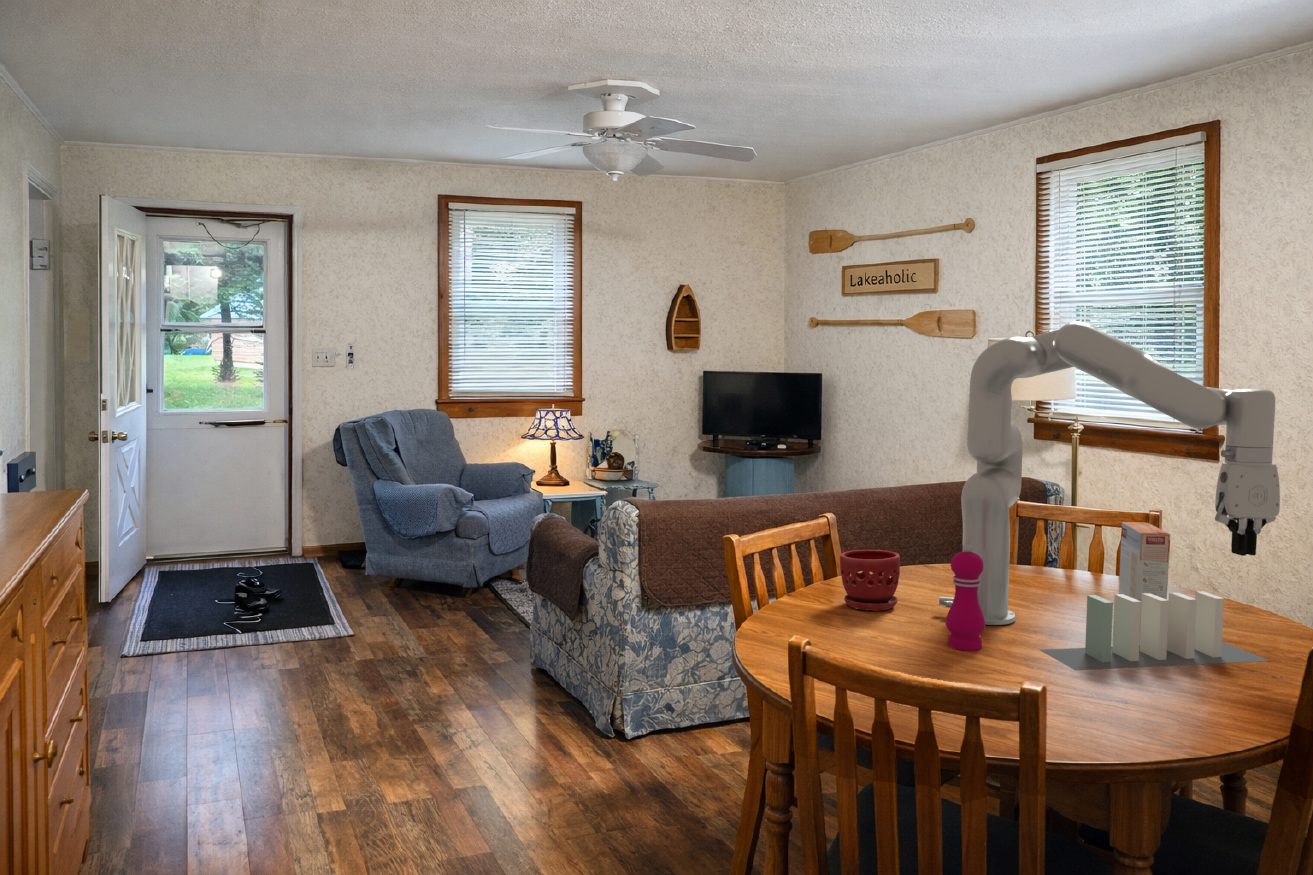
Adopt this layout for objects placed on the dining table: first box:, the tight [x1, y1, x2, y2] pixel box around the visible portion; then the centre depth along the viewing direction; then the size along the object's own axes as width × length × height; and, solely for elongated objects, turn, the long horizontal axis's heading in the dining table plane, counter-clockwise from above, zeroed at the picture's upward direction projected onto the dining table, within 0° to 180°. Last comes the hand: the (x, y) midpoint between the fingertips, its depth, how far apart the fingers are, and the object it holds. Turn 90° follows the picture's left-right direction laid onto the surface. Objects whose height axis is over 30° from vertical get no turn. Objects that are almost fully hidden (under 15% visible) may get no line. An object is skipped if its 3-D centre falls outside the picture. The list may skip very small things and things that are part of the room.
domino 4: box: [1194, 590, 1225, 657], centre depth 182 cm, size 2×6×11 cm, turn 8°
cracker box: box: [1118, 521, 1171, 626], centre depth 201 cm, size 14×6×21 cm, turn 168°
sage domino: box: [1084, 594, 1114, 662], centre depth 179 cm, size 2×6×11 cm, turn 8°
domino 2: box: [1139, 593, 1169, 660], centre depth 181 cm, size 2×6×11 cm, turn 8°
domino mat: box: [1040, 641, 1270, 671], centre depth 181 cm, size 38×12×1 cm, turn 98°
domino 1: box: [1112, 593, 1141, 661], centre depth 180 cm, size 2×6×11 cm, turn 8°
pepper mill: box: [945, 544, 986, 652], centre depth 188 cm, size 7×7×20 cm
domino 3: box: [1167, 591, 1197, 659], centre depth 182 cm, size 2×6×11 cm, turn 8°
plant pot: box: [839, 549, 901, 612], centre depth 218 cm, size 13×13×12 cm
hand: (1243, 553), depth 182 cm, fingers closed
